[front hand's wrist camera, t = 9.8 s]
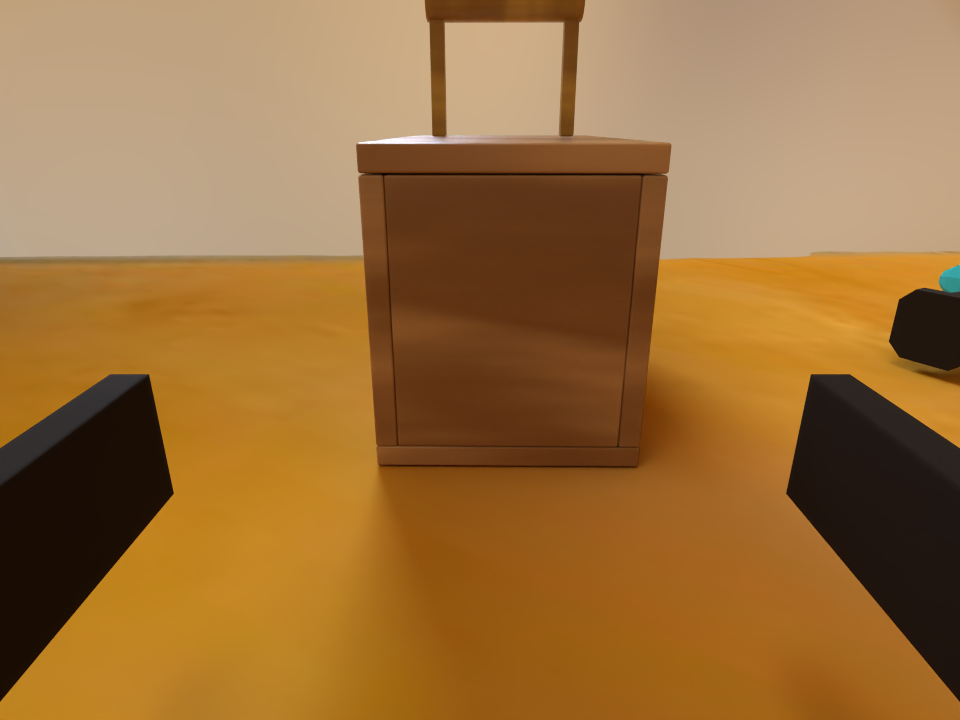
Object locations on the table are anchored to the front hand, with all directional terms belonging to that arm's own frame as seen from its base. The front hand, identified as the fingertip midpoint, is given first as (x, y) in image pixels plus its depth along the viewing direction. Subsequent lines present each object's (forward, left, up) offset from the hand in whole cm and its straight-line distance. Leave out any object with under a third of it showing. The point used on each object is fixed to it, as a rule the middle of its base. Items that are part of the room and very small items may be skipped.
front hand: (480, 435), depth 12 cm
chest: (+9, -14, -6) cm, 18 cm away
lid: (+10, -15, +4) cm, 18 cm away
